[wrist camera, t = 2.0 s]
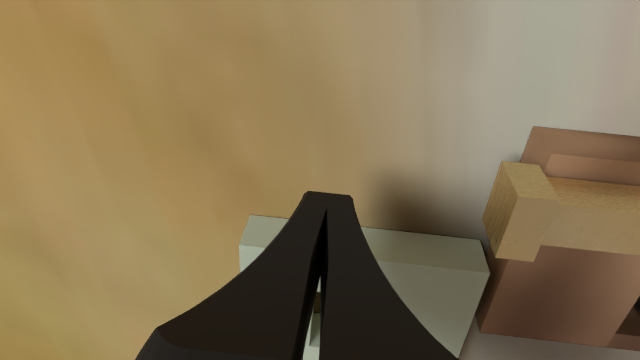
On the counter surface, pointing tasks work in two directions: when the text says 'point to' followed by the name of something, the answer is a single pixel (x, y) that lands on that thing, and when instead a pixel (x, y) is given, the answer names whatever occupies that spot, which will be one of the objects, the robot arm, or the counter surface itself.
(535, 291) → the socket block
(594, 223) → the bar
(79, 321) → the counter surface
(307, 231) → the robot arm
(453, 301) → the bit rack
